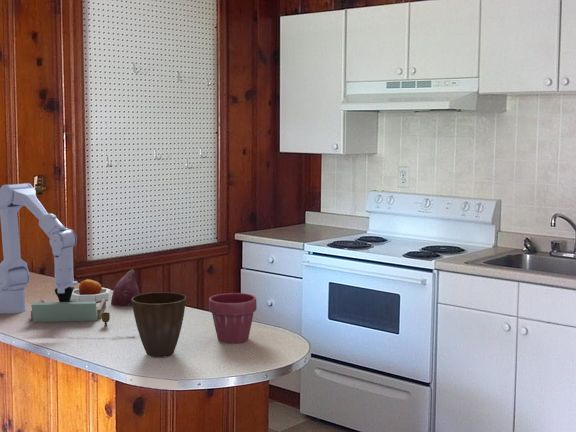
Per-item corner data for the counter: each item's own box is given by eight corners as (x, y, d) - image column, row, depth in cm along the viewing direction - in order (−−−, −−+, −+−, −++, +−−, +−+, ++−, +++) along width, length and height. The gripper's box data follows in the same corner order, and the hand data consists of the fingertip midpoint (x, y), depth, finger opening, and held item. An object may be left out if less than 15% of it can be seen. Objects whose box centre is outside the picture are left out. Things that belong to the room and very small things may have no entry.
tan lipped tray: (31, 324, 250) (30, 311, 250) (40, 312, 266) (40, 300, 266) (100, 322, 253) (100, 309, 252) (106, 310, 269) (105, 298, 268)
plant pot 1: (122, 353, 220) (120, 297, 218) (165, 343, 230) (165, 289, 228) (153, 365, 209) (152, 306, 207) (197, 354, 220) (197, 297, 218)
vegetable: (142, 312, 280) (153, 271, 280) (133, 315, 270) (145, 273, 269) (114, 304, 281) (125, 263, 281) (105, 307, 271) (116, 265, 270)
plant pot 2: (203, 335, 238) (203, 294, 237) (248, 331, 243) (248, 290, 242) (216, 348, 225) (216, 304, 224) (262, 343, 230) (263, 301, 228)
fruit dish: (67, 302, 280) (67, 295, 279) (73, 294, 293) (73, 287, 293) (107, 301, 281) (107, 295, 281) (111, 293, 295) (111, 286, 295)
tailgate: (33, 323, 249) (31, 304, 246) (34, 320, 250) (31, 302, 247) (96, 321, 251) (95, 303, 248) (97, 319, 252) (95, 301, 249)
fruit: (71, 296, 283) (77, 276, 286) (81, 303, 290) (87, 283, 293) (91, 298, 280) (96, 277, 284) (101, 305, 287) (106, 284, 291)
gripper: (73, 273, 241) (74, 316, 243) (80, 263, 255) (80, 304, 257) (50, 273, 240) (51, 316, 242) (57, 263, 254) (58, 304, 256)
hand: (65, 310), depth 249 cm, fingers closed, pressing on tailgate
